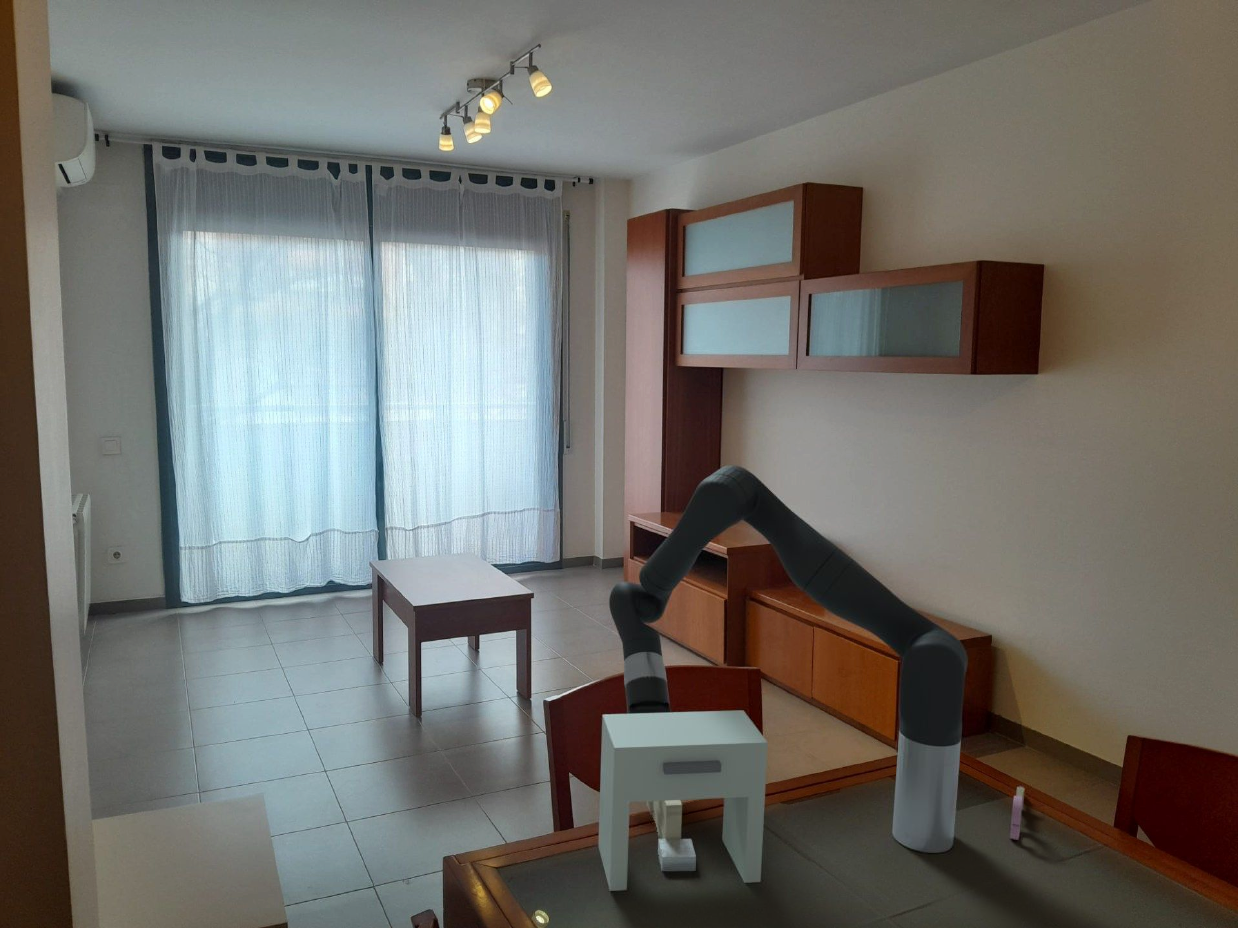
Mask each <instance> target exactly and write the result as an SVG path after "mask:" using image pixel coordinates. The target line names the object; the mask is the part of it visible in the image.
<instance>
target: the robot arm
mask: <svg viewBox="0 0 1238 928" xmlns="http://www.w3.org/2000/svg"><path fill="white" fill-rule="evenodd" d="M741 521H744V522H745V523H746V524H747V525H749V526H750V527H752V528H753V529H754V530H756V531H757V532H758V533H759V534H761V535H762V536H763V537H764V538H765V539H766V540H767V541H768V543H769V544H770V545H771V546H772V548H773V550H774V551H775V553H776V555H777V557H778V559H779V561H780V562H781V564H782V567H783V568H784V570H785V572H786V574H787V576H788V577H789V578H790V579H791V581H792V582H793V583H794V584H795V586H797V588H799V589H800V590H801V591H803V592H804V593H805V595H807V596H809V597H810V599H812V600H813V601H814V602H815V603H817V604H818V605H819V606H821V607H822V608H823V609H825V610H826V611H827V612H829V613H831V614H833V615H835V616H836V617H839V618H840V619H842V620H844V621H846V622H849V623H851V624H853V625H856V626H857V627H859V628H861V629H863V630H866V631H867V632H868V633H869V632H870V633H871V634H873V635H874V636H875V637H877V638H878V639H879V640H880V641H882V642H883V643H884V644H886V645H887V646H888V647H889V648H890V649H891V650H892V651H893V652H895V654H896V655H898V656H899V658H901V659H902V662H901V666H900V681H899V682H900V684H899V698H898V699H899V701H898V702H899V703H898V704H899V705H898V717H899V728H898V729H899V730H898V745H897V748H898V749H897V758H896V759H897V760H896V776H895V789H894V790H895V791H894V803H893V815H892V816H893V819H892V836H893V838H894V839H895V840H896V841H897V842H898V843H899V844H901V845H903V846H904V847H906V848H908V849H911V850H915V851H918V852H922V853H927V854H929V853H931V854H932V853H933V854H936V853H937V854H939V853H944V852H947V851H949V850H950V849H951V848H952V847H953V845H954V838H955V837H954V836H955V825H956V824H955V821H956V810H957V808H956V807H957V798H958V783H959V773H960V772H959V771H960V769H959V768H960V760H961V759H960V756H961V743H962V741H961V740H962V732H963V722H962V721H963V719H962V717H963V705H964V704H963V703H964V692H965V691H964V689H965V680H966V678H965V677H966V673H967V669H968V665H969V664H968V663H969V662H968V661H969V659H968V654H967V650H966V649H965V647H964V645H963V644H962V642H961V641H960V640H959V639H958V638H957V637H956V636H955V635H953V634H952V633H951V632H949V631H948V630H946V629H945V628H943V627H942V626H940V625H938V624H937V623H935V622H934V621H932V620H930V619H929V618H927V617H926V616H924V615H923V614H921V613H920V612H918V611H917V610H915V609H914V608H913V607H912V606H911V607H910V606H909V605H908V604H907V603H905V602H904V601H903V600H901V599H900V598H899V597H898V596H897V595H896V594H894V593H893V592H892V591H891V590H890V589H889V588H888V587H887V586H885V585H884V584H883V582H881V581H880V580H878V578H876V577H875V576H874V575H872V574H871V573H870V572H869V571H867V570H866V569H865V568H864V567H863V566H861V564H859V563H858V562H857V561H856V560H854V559H853V558H852V557H851V556H849V554H847V553H846V552H844V550H842V549H841V548H840V547H838V546H837V545H835V544H834V543H832V542H831V541H830V540H829V539H827V538H826V537H825V536H823V534H821V533H820V532H819V531H818V530H816V529H815V528H814V527H812V525H810V524H809V523H808V522H806V521H805V520H804V519H802V518H801V517H800V515H797V513H796V512H794V511H792V509H790V508H789V507H788V506H787V505H786V504H785V503H784V502H783V501H781V499H780V498H779V497H778V496H777V495H776V494H775V493H773V491H772V490H771V489H769V487H767V486H766V485H765V484H764V483H763V482H762V481H761V480H760V479H759V478H758V477H757V476H756V475H755V474H754V473H752V472H751V471H750V470H748V469H747V468H745V467H742V466H739V465H734V464H729V465H726V466H722V467H720V468H719V469H717V470H716V471H714V472H713V473H712V474H710V475H708V476H707V477H705V478H704V479H703V480H702V481H701V482H700V483H699V484H698V485H697V487H696V489H695V491H694V492H693V495H692V496H691V498H690V500H689V502H688V504H687V505H686V507H685V510H684V512H683V513H682V514H681V517H680V519H679V521H678V522H677V523H676V526H674V528H673V530H672V531H671V532H670V533H669V534H668V536H667V537H666V538H665V539H664V541H663V542H662V543H661V544H660V545H659V546H658V547H657V549H656V550H655V551H654V552H653V553H652V555H650V556H649V558H648V560H647V561H646V562H645V563H644V565H642V567H641V569H640V571H639V574H638V580H639V583H640V584H639V583H634V582H630V581H621V582H618V583H617V584H615V586H614V587H613V588H612V589H611V591H610V595H609V600H608V603H609V604H608V605H609V606H608V607H609V610H610V615H611V617H612V620H613V622H614V625H615V628H616V630H617V632H618V635H619V638H620V640H621V642H622V651H623V662H624V664H623V665H624V667H623V678H624V680H623V683H624V689H625V690H624V691H625V698H626V709H627V710H626V712H627V713H626V714H638V713H671V712H672V710H671V705H670V703H671V702H670V696H669V695H670V694H669V689H668V680H667V673H666V668H665V667H666V666H665V663H664V659H663V652H662V643H661V637H660V633H659V632H658V630H657V629H655V628H654V627H651V626H649V625H648V624H654V623H656V622H658V621H659V620H661V619H662V617H663V616H664V613H665V610H666V608H667V604H668V602H669V600H670V597H671V596H672V593H673V591H674V590H675V589H676V587H677V586H679V584H681V581H682V580H683V579H684V578H685V577H686V576H687V574H689V572H690V571H691V569H692V568H693V566H694V564H695V562H696V561H697V559H698V558H699V557H698V556H699V555H700V553H702V551H703V550H704V549H705V547H707V546H708V545H709V544H710V543H711V542H712V541H713V540H715V538H717V537H718V536H720V535H721V534H723V532H725V531H726V530H728V529H729V528H731V527H733V526H735V525H737V524H739V523H740V522H741Z"/></svg>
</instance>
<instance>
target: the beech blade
mask: <svg viewBox="0 0 1238 928" xmlns="http://www.w3.org/2000/svg"><path fill="white" fill-rule="evenodd" d="M646 806H647V808H648V810H649V814H650V815H651V814H652V817H653V819H654V821H655V823H656V827H657V830H656V832H658V833H657V836H658V838H659V837H660V838H659V839H682V820H683V819H682V817H683V804H682V800H668V801H646ZM651 811H654V812H652V813H650V812H651ZM652 817H651V818H652ZM653 819H652V820H653ZM656 827H655V828H656Z"/></svg>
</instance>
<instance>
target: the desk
mask: <svg viewBox="0 0 1238 928" xmlns="http://www.w3.org/2000/svg"><path fill="white" fill-rule="evenodd" d="M601 721H602V722H601V748H600V749H601V753H600V780H599V781H600V785H599V786H600V787H599V789H600V790H599V813H598V814H599V815H598V816H599V819H598V820H599V821H598V822H599V823H598V850H599V854H600V858H601V863H602V866H603V869H604V873H605V877H606V881H607V885H608V889H609V890H608V891H609V892H611V891H612V892H613V891H616V892H617V891H627V888H628V865H629V864H628V863H629V862H628V858H629V837H630V836H629V832H630V831H629V830H630V829H629V827H630V803H643V802H646V801H668V800H680V801H688V800H708V799H723V817H722V834H721V835H722V839H721V840H722V842H723V844H724V846H725V848H726V849H727V852H728V854H729V856H730V857H731V860H732V862H733V864H734V865H735V867H736V869H737V871H738V873H739V875H740V878H741V879H742V881H743V883H744V884H746V883H761V881H762V880H761V879H762V862H763V861H762V859H763V858H762V857H763V842H764V840H763V838H764V821H765V820H764V819H765V818H764V816H765V803H766V801H765V800H766V780H767V763H768V744H769V743H768V741H767V740H766V738H765V737H764V735H762V733H761V732H760V730H759V729H758V728H757V727H756V726H757V725H755V724H754V722H753V721H752V720H751V719H750V717H749V716H748V715H747V713H746V712H745V711H744V710H740V709H739V710H738V709H737V710H712V711H711V710H708V711H707V710H706V711H680V712H679V711H675V712H674V711H673V712H672V711H671V713H638V714H627V713H611V714H606V713H605V714H602V717H601Z"/></svg>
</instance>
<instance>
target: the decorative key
mask: <svg viewBox="0 0 1238 928" xmlns="http://www.w3.org/2000/svg"><path fill="white" fill-rule="evenodd" d="M1015 794H1016V795H1014V796H1013V801H1012V810H1011V811H1012V812H1011V818H1010V819H1011V820H1010V822H1011V823H1010V833H1009V838H1010V839H1011V840H1016V841H1019V838H1020V829H1021V821H1022V811H1023V809H1024V798H1025V787H1024V786H1022V785H1018V786H1017V787H1016V793H1015Z"/></svg>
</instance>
